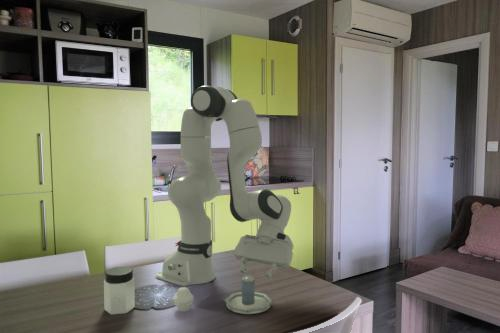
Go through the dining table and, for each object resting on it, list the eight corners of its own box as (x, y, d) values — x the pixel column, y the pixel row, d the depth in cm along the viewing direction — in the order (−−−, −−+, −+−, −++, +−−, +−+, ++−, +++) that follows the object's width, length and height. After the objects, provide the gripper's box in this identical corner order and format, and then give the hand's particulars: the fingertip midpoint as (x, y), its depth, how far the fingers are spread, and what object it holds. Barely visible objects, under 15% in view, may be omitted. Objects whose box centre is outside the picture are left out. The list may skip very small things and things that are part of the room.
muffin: (175, 304, 126) (175, 283, 125) (195, 305, 126) (194, 283, 125) (171, 313, 120) (171, 290, 119) (191, 313, 119) (191, 291, 119)
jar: (102, 316, 118) (101, 276, 117) (106, 304, 126) (105, 267, 125) (134, 313, 120) (133, 274, 119) (135, 302, 128) (134, 265, 127)
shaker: (239, 303, 125) (239, 278, 124) (245, 298, 128) (245, 274, 128) (251, 305, 123) (251, 280, 122) (256, 301, 127) (256, 276, 126)
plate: (218, 310, 122) (218, 304, 122) (238, 293, 135) (238, 288, 135) (260, 318, 116) (260, 313, 116) (277, 301, 129) (277, 295, 129)
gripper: (239, 229, 140) (224, 264, 132) (293, 236, 130) (280, 275, 122) (245, 238, 144) (231, 273, 136) (298, 247, 134) (286, 284, 126)
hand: (254, 274), depth 129 cm, fingers open, 8 cm apart
